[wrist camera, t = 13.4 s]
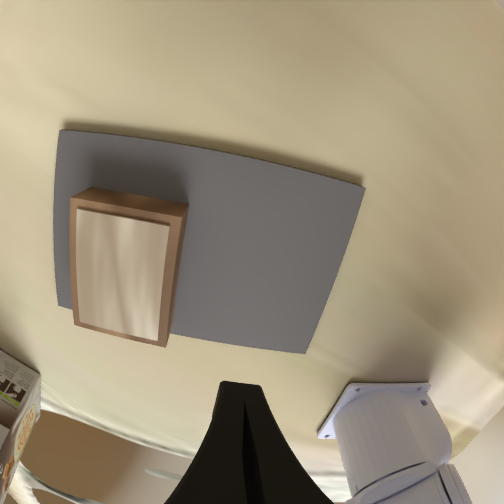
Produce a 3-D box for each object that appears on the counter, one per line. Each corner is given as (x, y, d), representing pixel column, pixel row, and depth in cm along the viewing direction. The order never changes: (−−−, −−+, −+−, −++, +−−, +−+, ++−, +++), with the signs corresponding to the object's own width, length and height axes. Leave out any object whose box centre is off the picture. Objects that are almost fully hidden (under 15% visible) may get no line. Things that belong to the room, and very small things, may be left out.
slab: (181, 218, 14) (69, 198, 14) (165, 349, 17) (73, 326, 17) (189, 204, 17) (90, 186, 16) (172, 323, 20) (88, 303, 19)
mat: (361, 186, 17) (365, 188, 17) (303, 348, 22) (305, 353, 21) (64, 129, 15) (59, 130, 15) (61, 301, 20) (58, 305, 19)
